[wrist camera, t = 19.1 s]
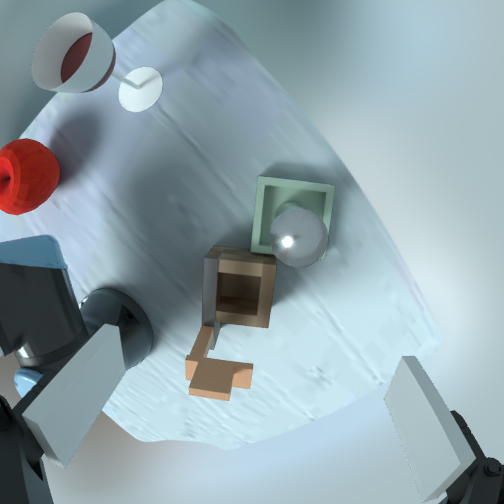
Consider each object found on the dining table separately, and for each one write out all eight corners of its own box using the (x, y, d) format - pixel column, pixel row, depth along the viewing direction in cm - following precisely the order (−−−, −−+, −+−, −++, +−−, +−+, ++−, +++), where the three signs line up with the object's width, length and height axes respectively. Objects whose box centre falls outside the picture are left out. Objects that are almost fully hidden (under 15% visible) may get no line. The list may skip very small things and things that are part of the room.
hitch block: (209, 326, 47) (201, 348, 41) (213, 245, 43) (204, 257, 37) (265, 333, 46) (264, 356, 40) (275, 252, 42) (276, 265, 37)
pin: (268, 234, 41) (266, 263, 29) (272, 194, 39) (272, 205, 27) (308, 238, 41) (323, 270, 28) (313, 199, 39) (332, 213, 27)
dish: (251, 246, 42) (250, 251, 40) (258, 175, 40) (257, 176, 37) (320, 253, 42) (324, 259, 39) (330, 184, 39) (335, 185, 36)
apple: (30, 144, 40) (-22, 146, 27) (75, 134, 39) (20, 130, 26) (32, 207, 43) (-19, 221, 30) (76, 204, 42) (22, 219, 30)
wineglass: (126, 124, 39) (37, 105, 19) (111, 80, 37) (28, 45, 17) (172, 99, 37) (100, 56, 18) (154, 55, 35) (85, -2, 16)
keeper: (201, 339, 40) (176, 405, 27) (202, 321, 39) (174, 384, 26) (254, 346, 40) (247, 416, 27) (256, 328, 39) (249, 396, 26)
